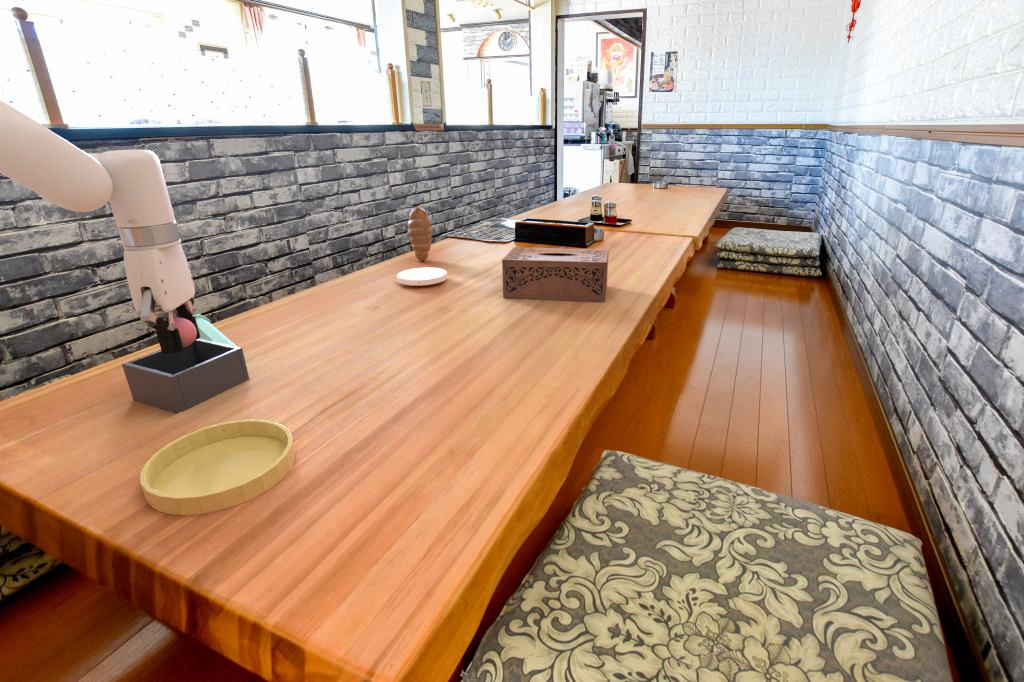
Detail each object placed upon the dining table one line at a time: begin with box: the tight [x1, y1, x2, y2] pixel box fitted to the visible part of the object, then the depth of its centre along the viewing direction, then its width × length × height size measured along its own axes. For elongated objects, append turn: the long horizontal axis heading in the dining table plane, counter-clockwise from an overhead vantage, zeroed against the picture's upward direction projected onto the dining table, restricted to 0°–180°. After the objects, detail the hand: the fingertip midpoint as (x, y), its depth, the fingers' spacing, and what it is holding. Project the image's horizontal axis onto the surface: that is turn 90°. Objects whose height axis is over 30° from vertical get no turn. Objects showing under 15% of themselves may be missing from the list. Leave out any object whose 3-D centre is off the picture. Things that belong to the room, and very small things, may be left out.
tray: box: [139, 418, 296, 516], centre depth 68 cm, size 17×17×3 cm
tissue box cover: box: [501, 246, 610, 303], centre depth 138 cm, size 26×14×10 cm, turn 79°
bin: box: [121, 339, 250, 414], centre depth 89 cm, size 13×13×7 cm
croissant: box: [407, 204, 433, 262], centre depth 172 cm, size 9×8×18 cm
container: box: [194, 313, 247, 364], centre depth 105 cm, size 6×6×25 cm
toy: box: [174, 317, 197, 347], centre depth 87 cm, size 5×5×5 cm
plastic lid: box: [396, 266, 448, 287], centre depth 151 cm, size 14×14×2 cm
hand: (182, 344), depth 88 cm, fingers closed on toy, 4 cm apart
